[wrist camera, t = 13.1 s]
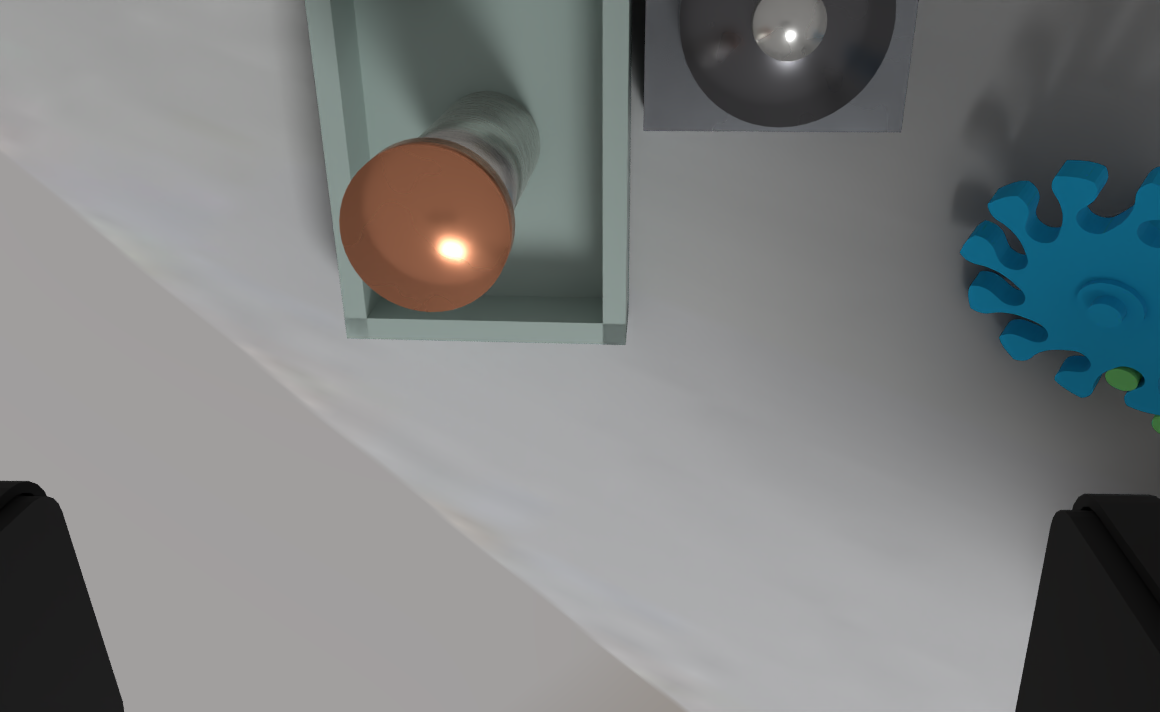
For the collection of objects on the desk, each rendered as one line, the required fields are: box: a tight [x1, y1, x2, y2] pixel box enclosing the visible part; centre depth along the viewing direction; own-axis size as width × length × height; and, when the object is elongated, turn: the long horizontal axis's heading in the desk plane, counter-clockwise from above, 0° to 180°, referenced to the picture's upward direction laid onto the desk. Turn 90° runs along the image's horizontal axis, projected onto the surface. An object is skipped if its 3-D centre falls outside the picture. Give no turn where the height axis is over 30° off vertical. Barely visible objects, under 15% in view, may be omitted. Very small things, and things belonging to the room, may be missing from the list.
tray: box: [305, 0, 632, 345], centre depth 33 cm, size 13×10×3 cm
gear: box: [960, 160, 1160, 434], centre depth 32 cm, size 11×6×10 cm
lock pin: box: [339, 91, 540, 312], centre depth 29 cm, size 4×4×10 cm
